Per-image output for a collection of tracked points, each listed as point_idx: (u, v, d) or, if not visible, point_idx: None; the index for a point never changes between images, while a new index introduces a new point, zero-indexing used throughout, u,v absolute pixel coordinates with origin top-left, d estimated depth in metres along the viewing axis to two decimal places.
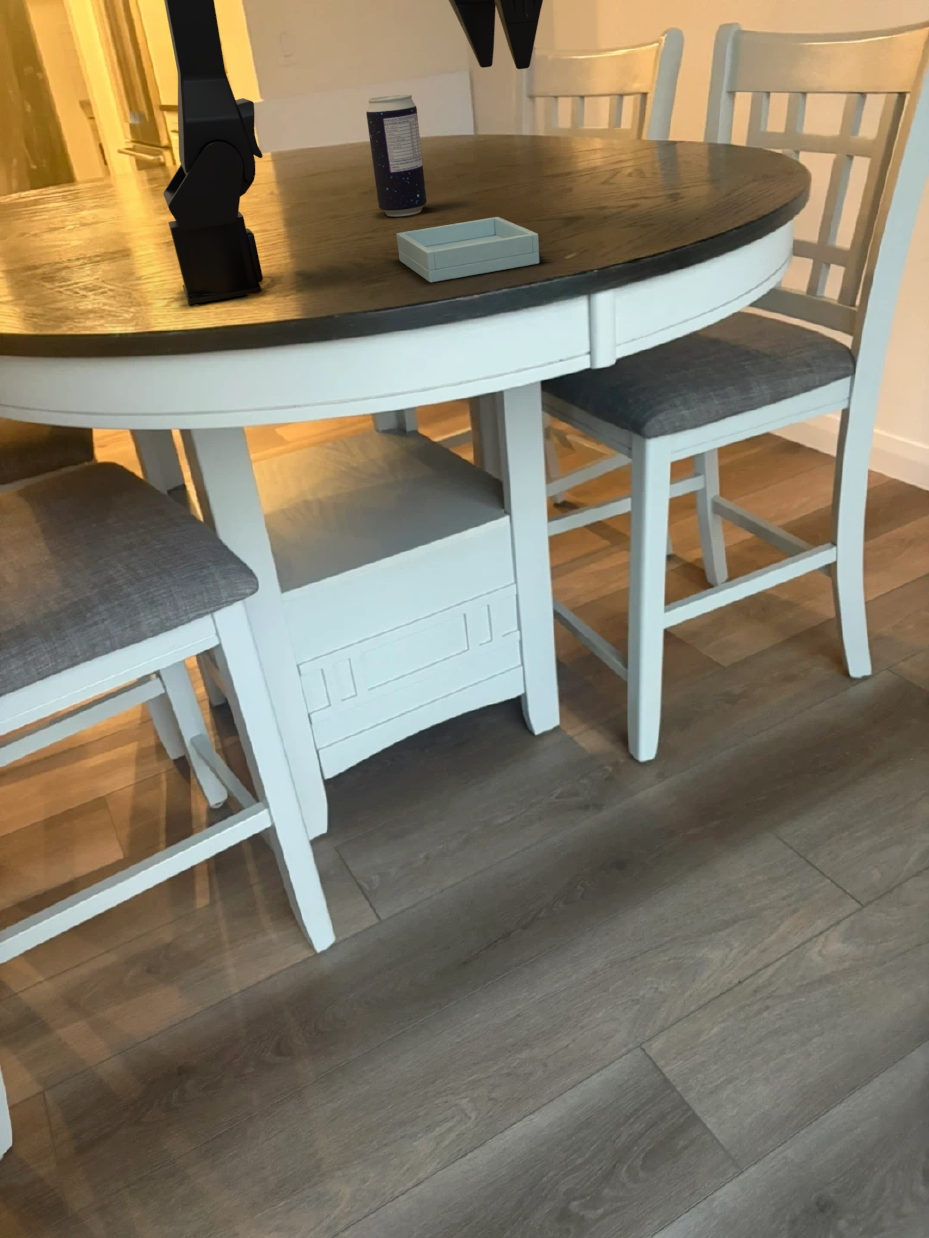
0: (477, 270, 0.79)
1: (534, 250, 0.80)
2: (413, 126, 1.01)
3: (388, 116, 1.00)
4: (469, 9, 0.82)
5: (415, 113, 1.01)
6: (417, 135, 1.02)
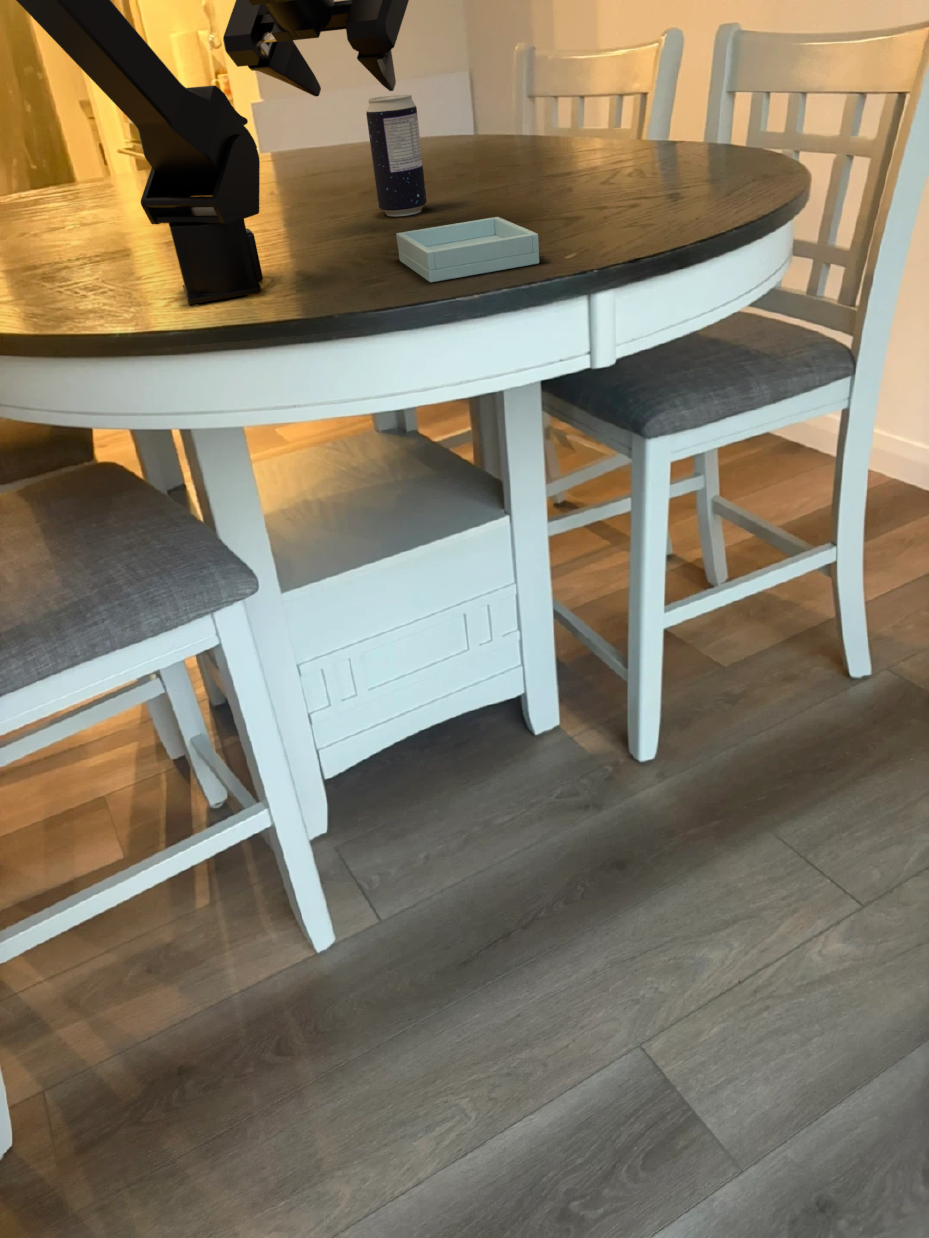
0: (477, 270, 0.79)
1: (534, 250, 0.80)
2: (413, 126, 1.01)
3: (388, 116, 1.00)
4: (290, 68, 0.92)
5: (415, 113, 1.01)
6: (417, 135, 1.02)
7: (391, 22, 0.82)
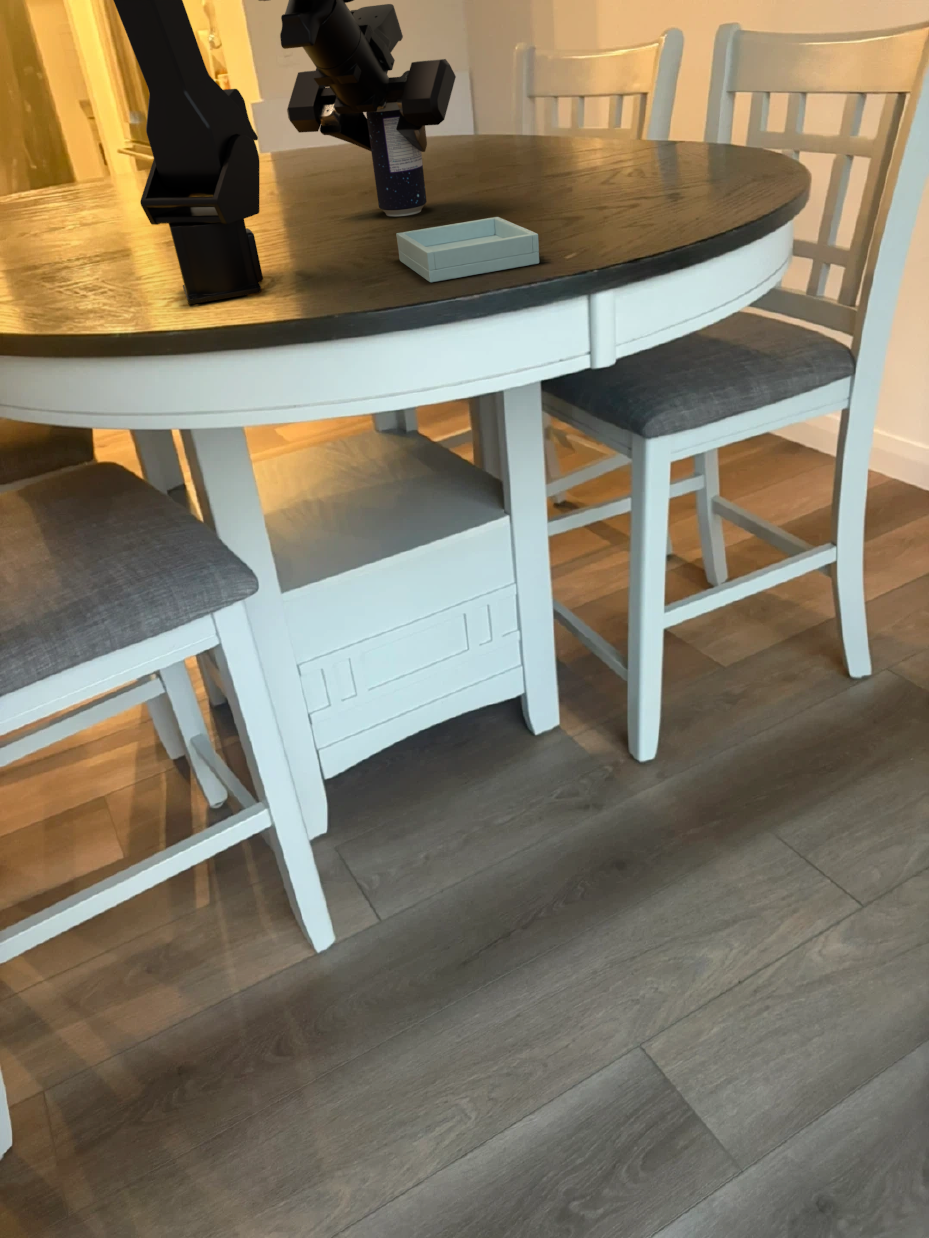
0: (477, 270, 0.79)
1: (534, 250, 0.80)
2: None
3: (388, 116, 1.00)
4: (357, 132, 1.02)
5: None
6: None
7: (442, 99, 0.93)
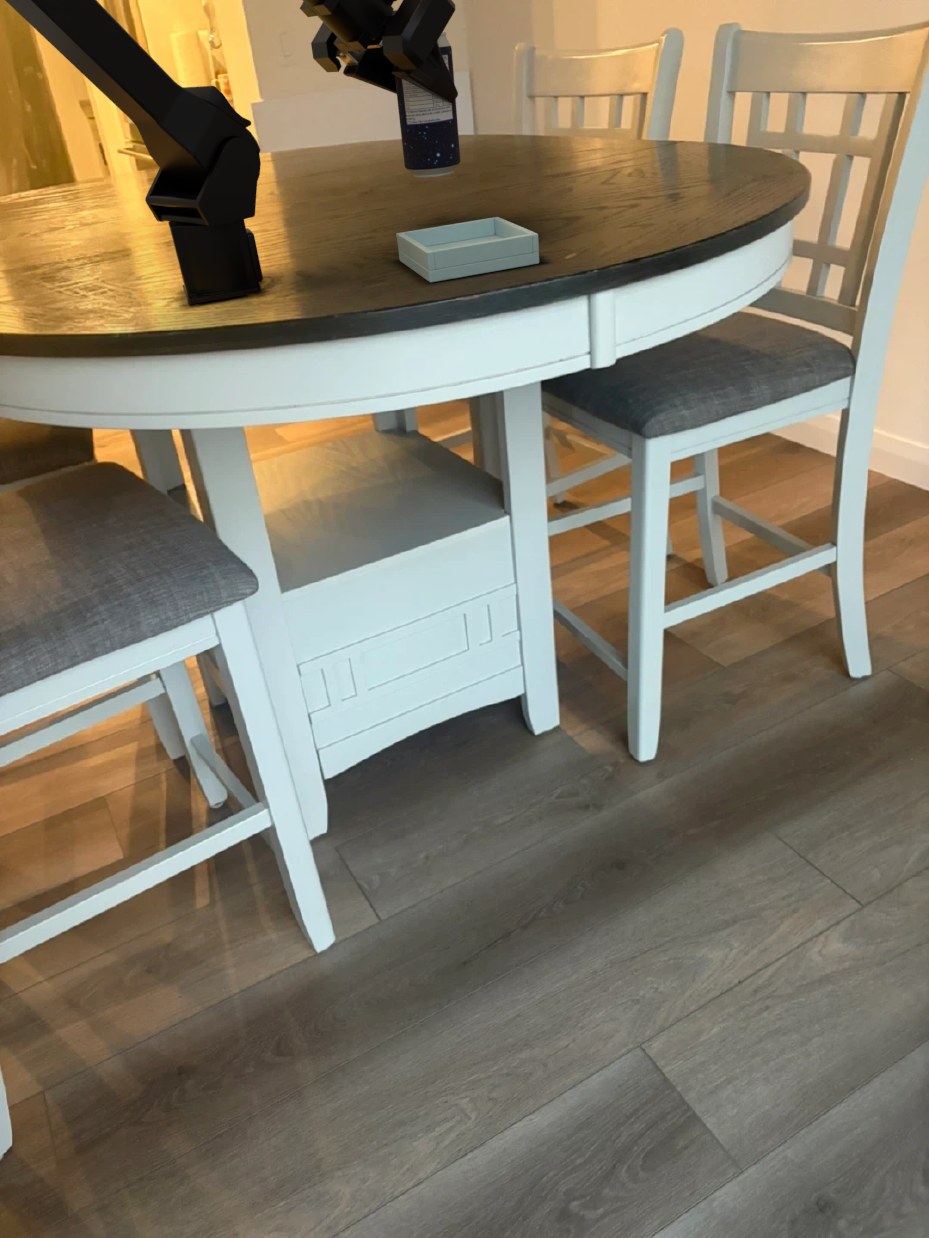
0: (477, 270, 0.79)
1: (534, 250, 0.80)
2: None
3: None
4: (383, 75, 0.89)
5: None
6: None
7: (421, 37, 0.77)
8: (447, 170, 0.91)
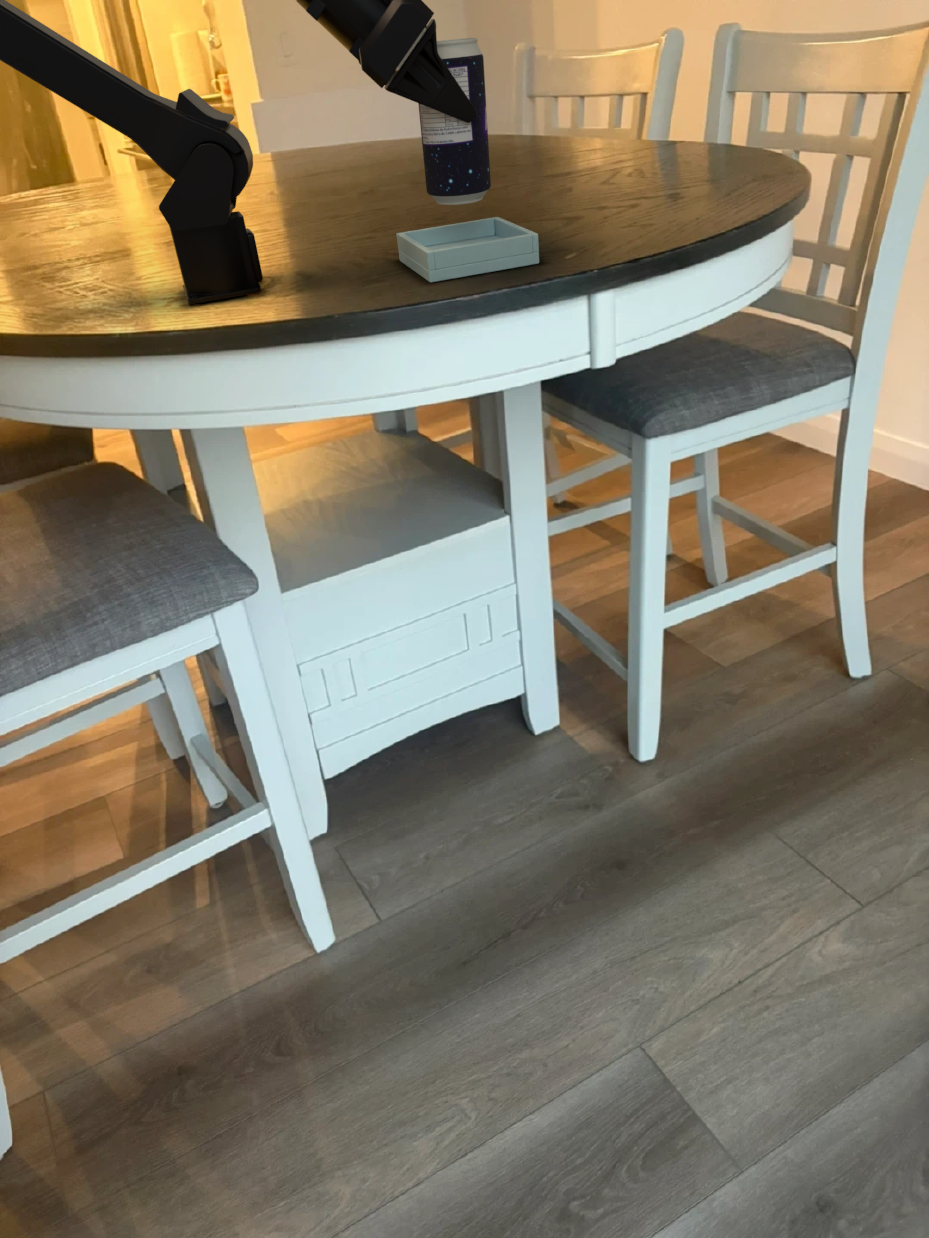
0: (477, 270, 0.79)
1: (534, 250, 0.80)
2: None
3: None
4: None
5: (457, 67, 0.73)
6: None
7: (382, 52, 0.66)
8: (465, 198, 0.79)
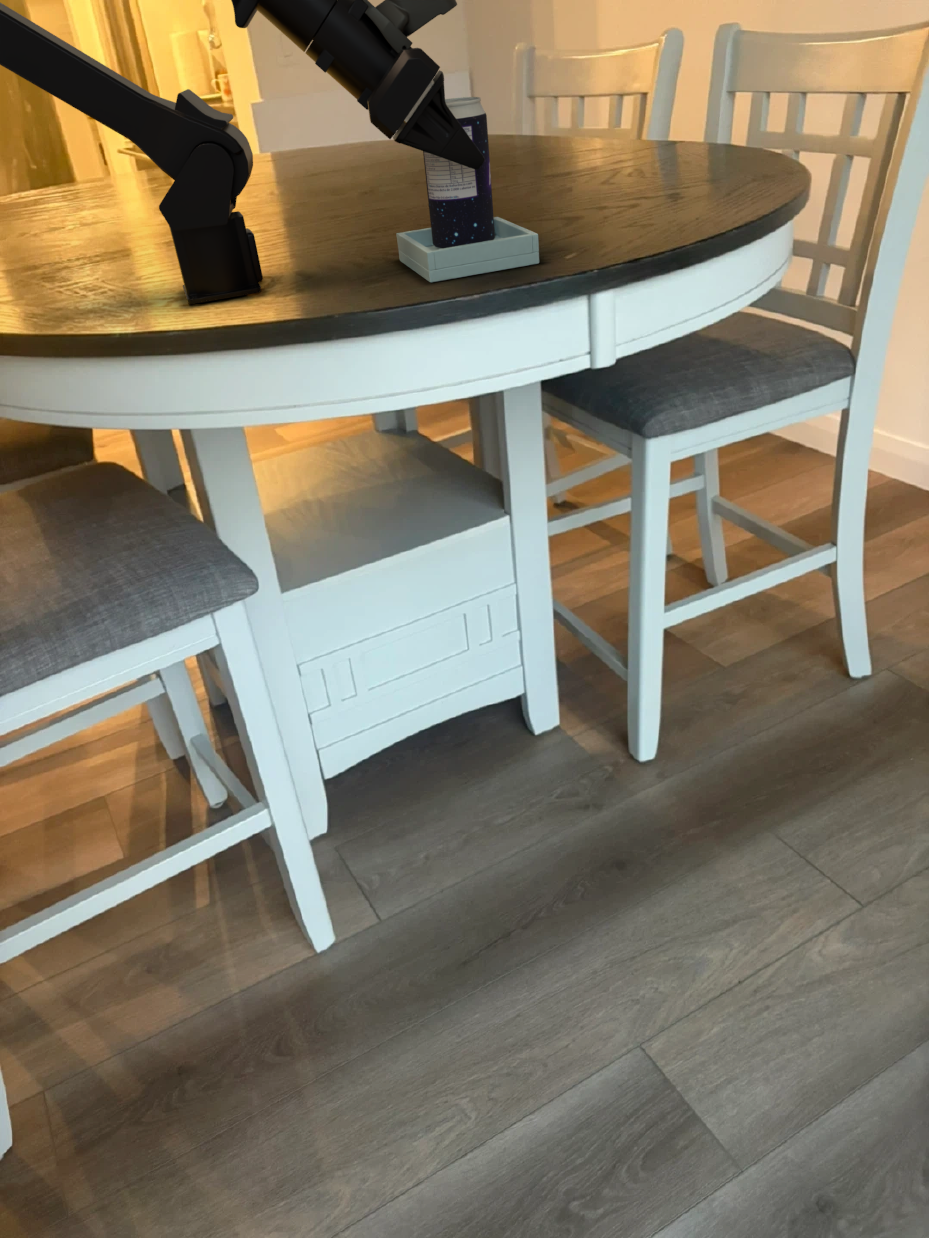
0: (477, 270, 0.79)
1: (534, 250, 0.80)
2: None
3: None
4: None
5: None
6: None
7: (390, 106, 0.68)
8: None
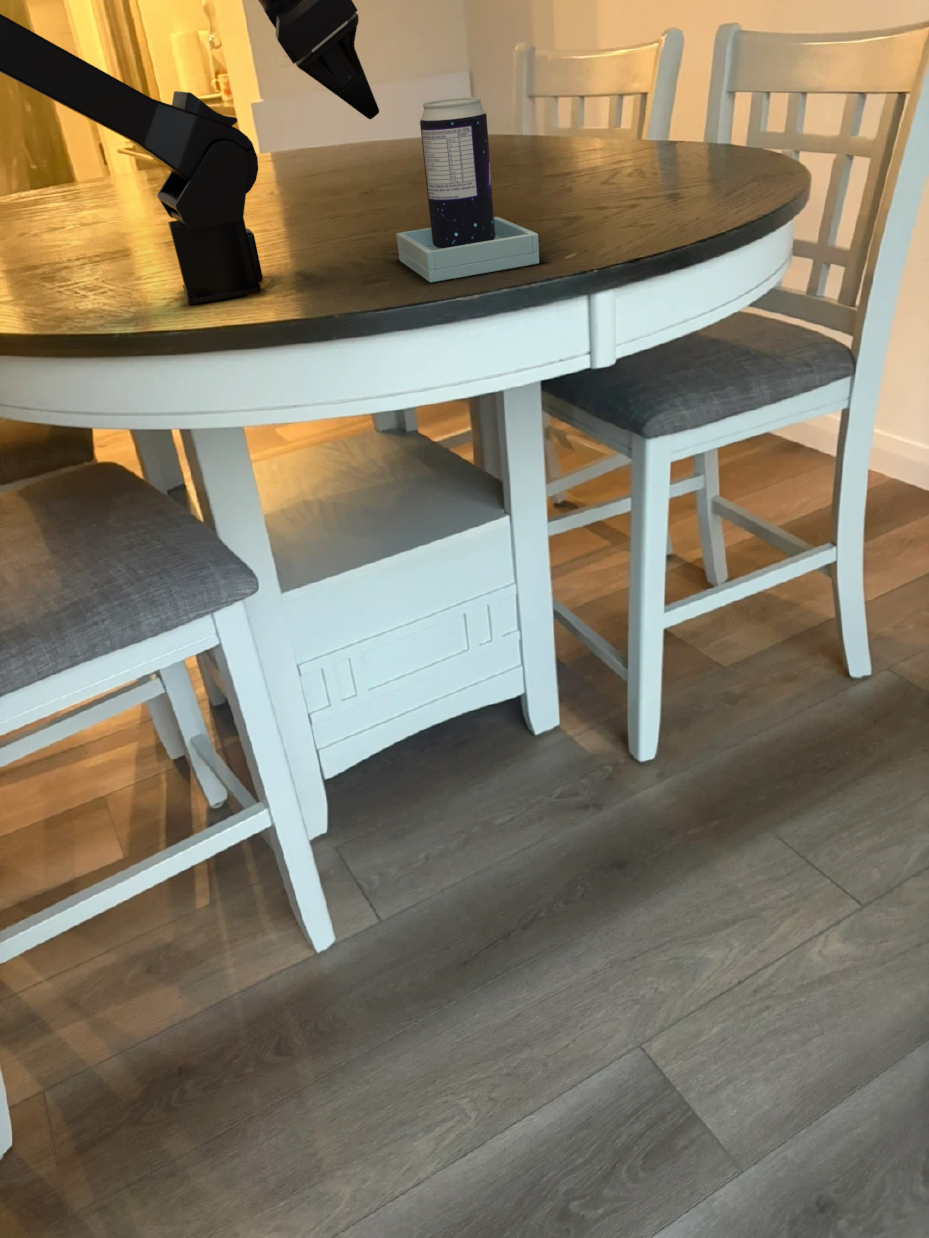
0: (477, 270, 0.79)
1: (534, 250, 0.80)
2: (454, 145, 0.76)
3: (423, 127, 0.76)
4: None
5: (462, 127, 0.75)
6: (463, 156, 0.76)
7: (301, 31, 0.68)
8: None
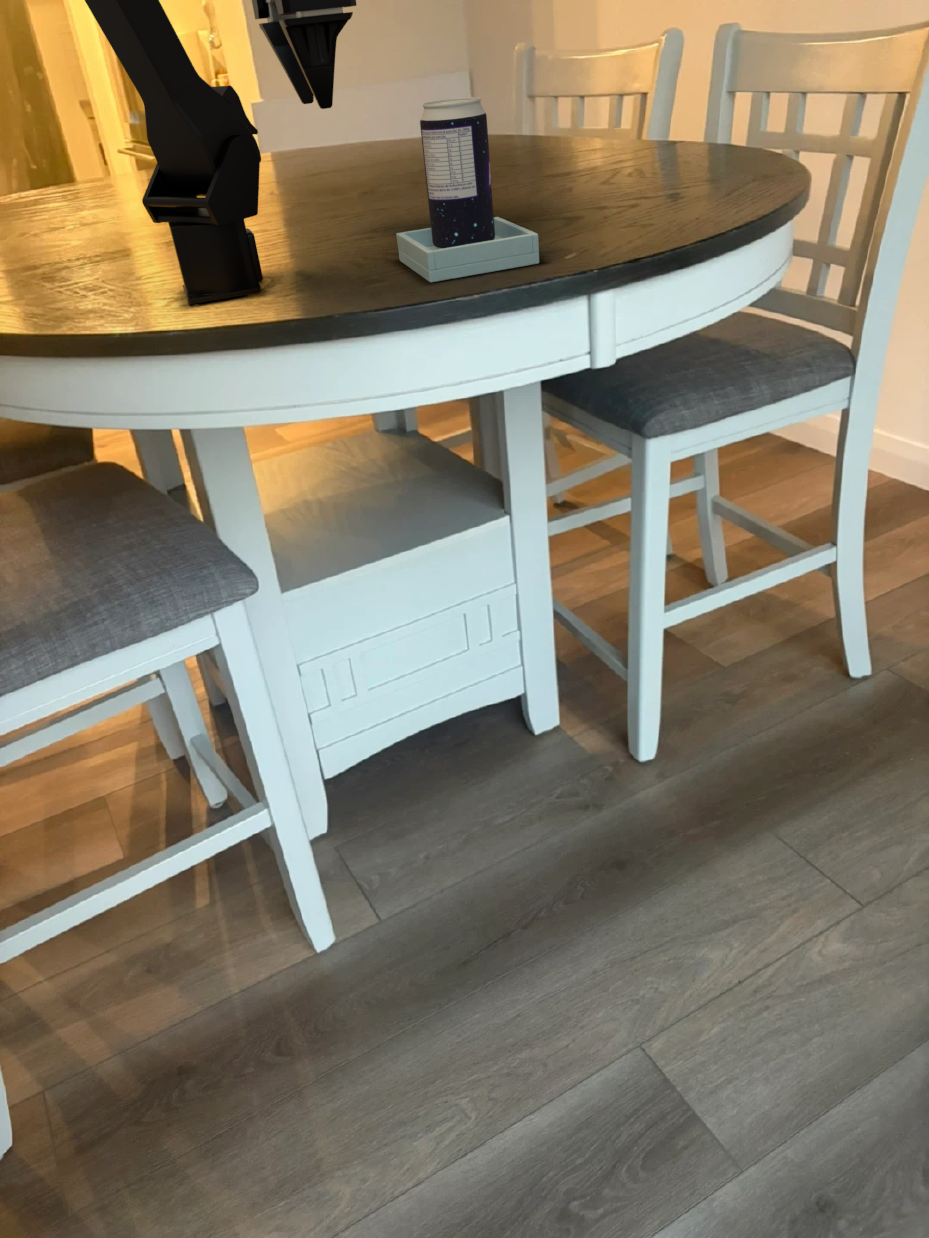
0: (477, 270, 0.79)
1: (534, 250, 0.80)
2: (454, 145, 0.76)
3: (423, 127, 0.76)
4: (287, 50, 0.87)
5: (462, 127, 0.75)
6: (463, 156, 0.76)
7: None
8: None
